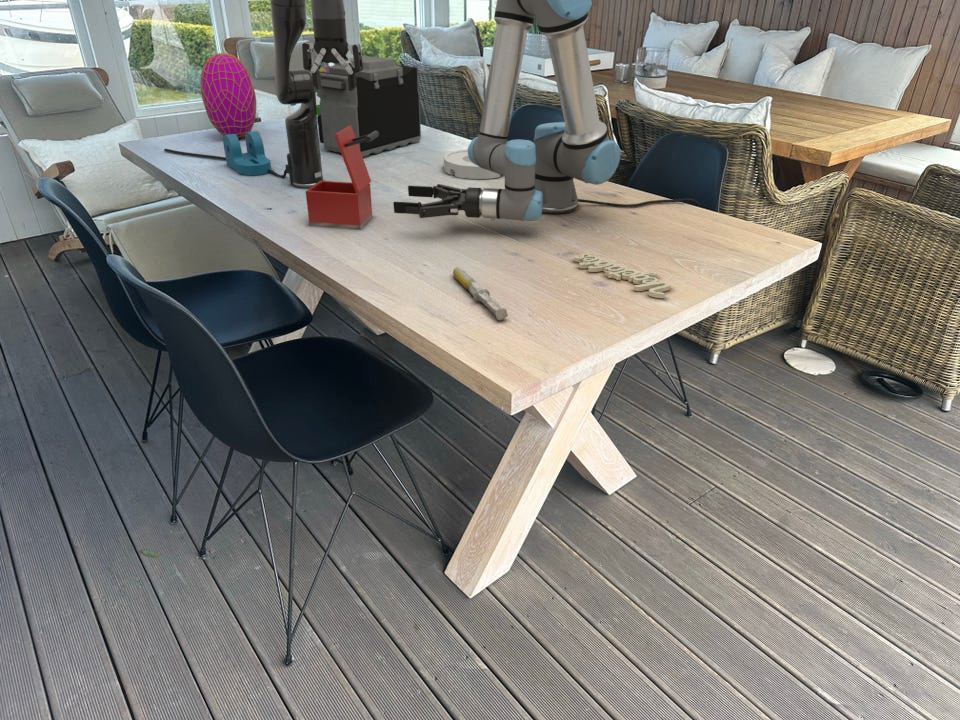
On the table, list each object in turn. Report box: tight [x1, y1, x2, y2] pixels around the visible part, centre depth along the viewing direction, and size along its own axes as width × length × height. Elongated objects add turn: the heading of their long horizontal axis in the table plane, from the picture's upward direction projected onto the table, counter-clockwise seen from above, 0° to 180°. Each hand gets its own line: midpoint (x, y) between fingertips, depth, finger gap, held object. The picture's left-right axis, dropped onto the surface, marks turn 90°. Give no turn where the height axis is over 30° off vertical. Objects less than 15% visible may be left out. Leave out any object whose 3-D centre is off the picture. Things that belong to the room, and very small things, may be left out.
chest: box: [305, 180, 373, 230], centre depth 183 cm, size 14×10×9 cm
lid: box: [334, 126, 379, 193], centre depth 175 cm, size 15×10×8 cm
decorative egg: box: [200, 52, 257, 139], centre depth 259 cm, size 19×19×30 cm
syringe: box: [452, 266, 509, 321], centre depth 145 cm, size 25×4×3 cm, turn 21°
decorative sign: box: [574, 252, 671, 299], centre depth 155 cm, size 26×1×10 cm
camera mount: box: [222, 131, 272, 176], centre depth 226 cm, size 18×10×10 cm, turn 35°
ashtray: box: [443, 148, 502, 180], centre depth 230 cm, size 23×23×4 cm
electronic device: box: [315, 55, 422, 158], centre depth 250 cm, size 37×22×30 cm, turn 144°
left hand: (335, 89), depth 168 cm, fingers open, 8 cm apart
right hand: (401, 198), depth 179 cm, fingers open, 13 cm apart
